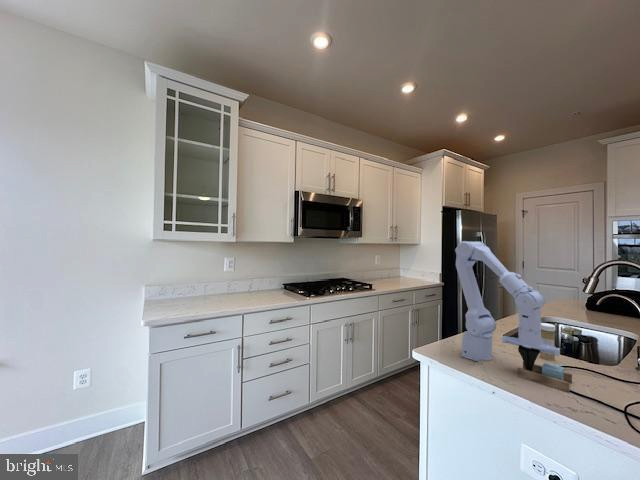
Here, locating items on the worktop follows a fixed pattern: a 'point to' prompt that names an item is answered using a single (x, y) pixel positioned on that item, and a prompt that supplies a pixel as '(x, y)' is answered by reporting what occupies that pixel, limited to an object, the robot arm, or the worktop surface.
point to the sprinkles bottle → (547, 339)
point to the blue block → (553, 371)
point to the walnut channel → (546, 378)
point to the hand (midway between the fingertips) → (529, 370)
